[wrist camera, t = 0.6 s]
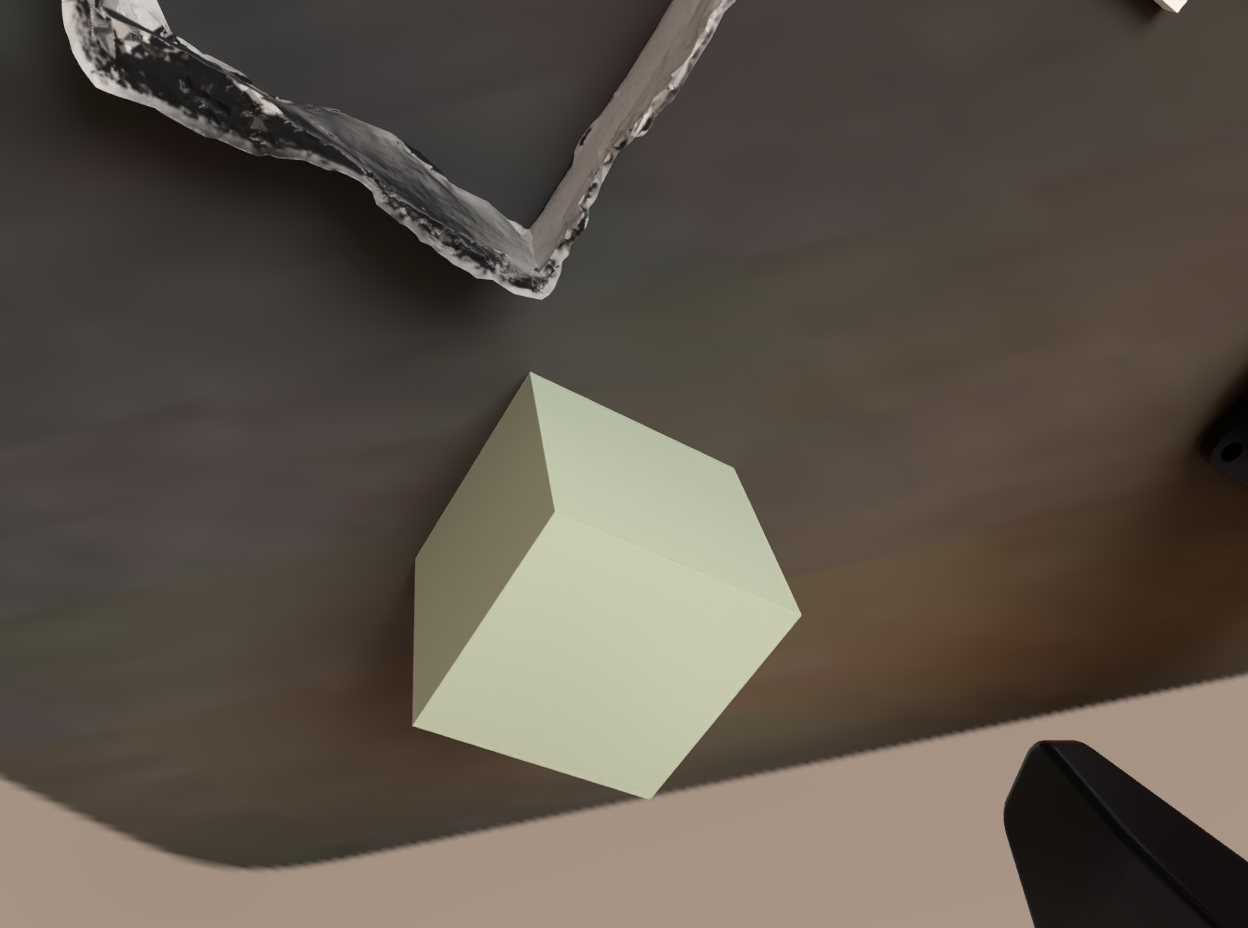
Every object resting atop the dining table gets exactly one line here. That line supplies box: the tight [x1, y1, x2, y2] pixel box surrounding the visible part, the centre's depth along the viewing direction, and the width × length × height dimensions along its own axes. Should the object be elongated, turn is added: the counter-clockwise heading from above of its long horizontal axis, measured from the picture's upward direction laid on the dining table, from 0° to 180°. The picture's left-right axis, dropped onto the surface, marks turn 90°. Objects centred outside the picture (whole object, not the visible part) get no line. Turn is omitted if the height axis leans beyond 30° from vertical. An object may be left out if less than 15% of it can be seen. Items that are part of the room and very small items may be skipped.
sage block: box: [412, 372, 801, 800], centre depth 21 cm, size 5×5×5 cm
